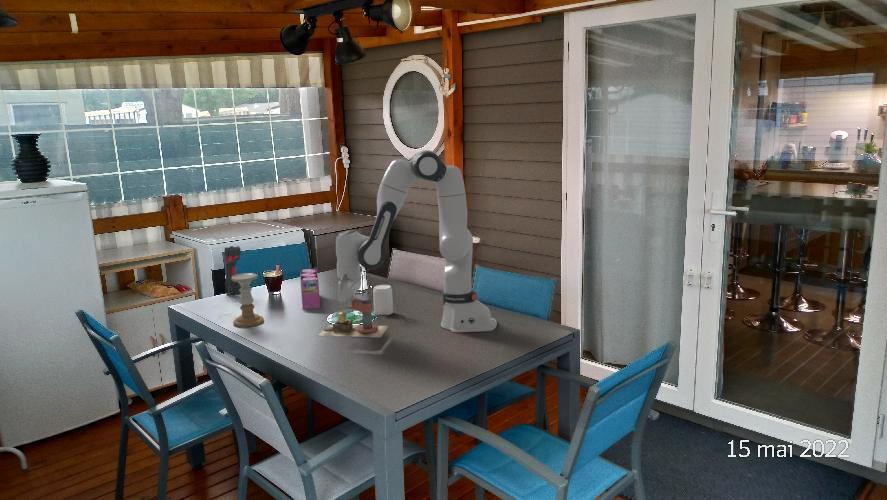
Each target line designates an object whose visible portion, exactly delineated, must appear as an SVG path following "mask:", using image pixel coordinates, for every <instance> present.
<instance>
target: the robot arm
mask: <svg viewBox="0 0 887 500" xmlns="http://www.w3.org/2000/svg"><path fill="white" fill-rule="evenodd" d="M381 179H382V180H381V181H380V184H379V188H378V190H377V195H376V217H375V222H374V223H373V227H372V229H371V231H370V232H371V233H370V235H369V236H368V235H364V234H361V233H360V232H358V231H357V230H356V229H347V230H343V231H341V232H340V233H338V234H337V235H336V239H335V256H336V259H337V260H336V275H337V279H340V280H339V281H338V282H337V300H338V302H340V303H341V302H343V303H344V302H345V303H346V307H347V306H348V307H352V306H353V299H354V298H355V294H356V293H357V292H358V291H359V290H360V289H361V287H362V272H363V268H364V269H366V270H369V271H373V270H377V269H379V268H380V267H382V266H383V265H384V263H385V261H386V259H385V258H386V243H387V240H388V237H389V234H390V231H391V229H392V226H393V224H394V222H395V221H394V220H395V219H396V217H397V215H398V214H399V212H400V210H401V208H402V207H403V205H404V203H405V200H406V199H407V197H408V194H409V191H410V189H411V186H412V184H413V182H415V180H417V179H422V180H424V181H430V182H433V183H434V185H435V189H436V199H437V207H438V215H439V217H438V218H439V223H438V227H439V228H438V233H439V234H438V235H439V237H438V239H439V253H440V255H441V256H442V258H443V259H444V265H443V271H442V272H443V275H442V277H443V291H442V305H443V310H442V318H441V322H440V326H441V328H443V329H445V330H448V331H451V332H452V333H474V332H478V333H479V332H492V331H494V330H495V329H496V328H497V325H498V321H497V320H496V318H494V317H492V314H491V310H490V309H489V307H488V306H487V305H485V304H483V303H482V302H481V301H479V300H478V295H477V290H475V291H474V290H473V289H472V267H473V266H472V265H473V247H474V245H473V244H474V243H473V241H474V240H473V234H472V232H471V230H469V228H468V206H467V205H468V203H467V195H466V187H465V182H464V181H465V180H464V178H463V174H462V171H461V169H460V168H459V167H457V166H456V165H451V164H450V165H446V164H445V163H444V161H443V160H442V159H441V157H440V156H439V155H438V154H437V153H435V152H434V151H432V150H429V149H426V150H420V151H418V152H417V153H415V154H414V155H413V156H412V157H410V158H409V159H408V160H404V159H402V158H399V159H394V160H392V161H391V162H390V164H389V165H388V167H387V169H386V170H385V172H384V175H383V177H382V178H381Z"/></svg>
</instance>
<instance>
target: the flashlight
mask: <svg viewBox="0 0 887 500" xmlns="http://www.w3.org/2000/svg"><path fill="white" fill-rule="evenodd" d="M241 255H242V252H241V247H240V246H239V245H237V246H234V245H233V246H229V247H227V246H225V248H224V259H225V262H224V263H225V271H226V281H225V282H224V286H225V294H226V295H230V296H231V295H233V294H235V295H239V294H241V292H240V291H239V290H240V288H241V285H240V284H239V283H238V282H235V281H232V280H231V277H232V276H234V275H237V267H236V266H237V262H239V260H240V259H241Z"/></svg>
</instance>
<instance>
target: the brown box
mask: <svg viewBox="0 0 887 500" xmlns="http://www.w3.org/2000/svg"><path fill="white" fill-rule="evenodd" d="M332 325H333V332H340V333H348V332H349V331H350V330H351V329H352V328H353V325H354V323H353V320H351V319H350V320H347V325H341V324H339V323H338V319H337V320H336V321H335V322H334V323H333V324H332Z"/></svg>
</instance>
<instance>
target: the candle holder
mask: <svg viewBox="0 0 887 500" xmlns="http://www.w3.org/2000/svg"><path fill="white" fill-rule="evenodd" d="M256 279H258V274H257V273H252V272H251V273H250V272H249V273H248V272H246V273H245V272H244V273H236V275H234V276H232V277H231V280H232V281H235V282H238V283H239V284H240V285H241V288H240V290H239V291H240V292H241V293H240V299H239V303H240V304H241V305H240V306H239V309H240V310H241V315H239V316H238V317H236V318H235V319H234V320H233V321H232V324H233V326H234V327H237V328H251V327H256V326H259V325H261V324H262V323H264V321H265V319H264V316H262V315H259V314H258V313H254V308H255V305H254V304H253V303H254V298H253V295H252V290H253V289H252V287H251V286H250V284H251V282H252V281H254V280H256Z"/></svg>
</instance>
